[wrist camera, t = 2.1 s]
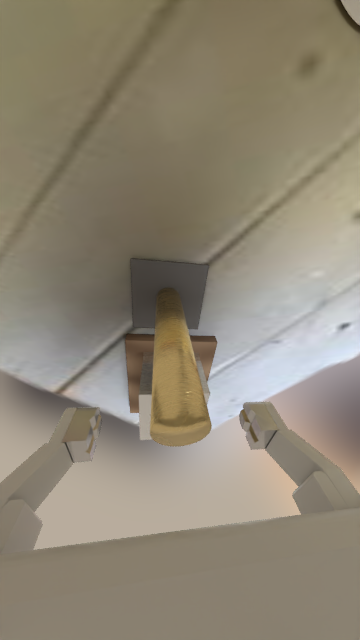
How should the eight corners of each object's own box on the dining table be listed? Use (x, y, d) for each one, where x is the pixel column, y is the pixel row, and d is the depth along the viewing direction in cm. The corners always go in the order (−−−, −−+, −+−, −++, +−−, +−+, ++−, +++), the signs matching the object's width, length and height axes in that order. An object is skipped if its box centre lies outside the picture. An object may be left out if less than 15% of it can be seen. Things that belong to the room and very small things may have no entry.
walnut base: (127, 333, 25) (125, 340, 24) (214, 336, 27) (217, 342, 25) (131, 405, 33) (130, 413, 32) (198, 403, 35) (199, 410, 34)
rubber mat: (131, 258, 20) (130, 259, 19) (207, 264, 21) (208, 265, 21) (133, 325, 24) (133, 327, 24) (196, 327, 25) (197, 329, 25)
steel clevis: (144, 352, 25) (138, 394, 19) (198, 352, 26) (209, 393, 20) (144, 410, 32) (140, 455, 26) (187, 409, 33) (193, 452, 27)
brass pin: (156, 286, 21) (150, 413, 8) (181, 288, 22) (217, 411, 8) (156, 308, 23) (149, 448, 9) (178, 309, 23) (205, 444, 9)
